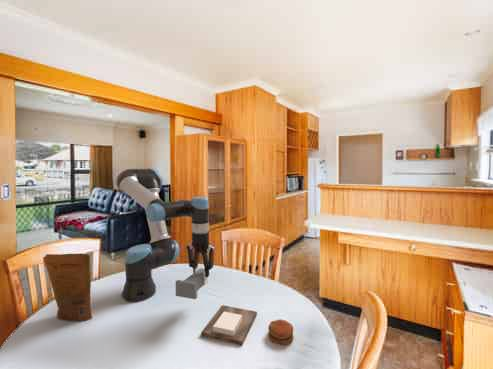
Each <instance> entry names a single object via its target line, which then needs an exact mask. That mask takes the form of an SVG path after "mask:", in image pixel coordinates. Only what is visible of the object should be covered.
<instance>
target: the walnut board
mask: <svg viewBox="0 0 493 369" xmlns="http://www.w3.org/2000/svg"><path fill="white" fill-rule="evenodd" d="M223 312H229V313H234V314H239V315H242V321H241V323H240V325H239V327H238V328H237V330H236V332H235V334H234V336H231V335H227V334H222V333H218V332H213V326H214V324H215V323H216V322H217V320H218V319H219V317H220V316H221V315H222V313H223ZM257 315H258V311H254V310H250V309H245V308H240V307H236V306H235V307H234V306H228V305H224V304H223V305H221V306H220V307H219V309H218V310H217V311H216V313H215V314H214V315H213V316H212V317H211V319H210V320H209V322H208V323H207V324H206V326H205V327H204V328H203V330H202V331H201V333H200V335H201V337H203V338H204V337H205V338H208V339H211V340H212V339H213V340H218V341H222V342H226V343H229V344H233V345H239V346H243V345H244V342H245V341H246V338H247V336H248V335H249V332H250V330H251V329H252V326H253V324H254V322H255V320H256V317H257Z"/></svg>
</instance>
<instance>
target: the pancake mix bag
mask: <svg viewBox="0 0 493 369" xmlns="http://www.w3.org/2000/svg"><path fill="white" fill-rule="evenodd" d="M42 259H43V264H44V266H45V268H46V273H47V275H48V279H49V281H50V285H51V289H52V292H53V296H54V300H55V304H56V307H57V313H56V316H57V318H56V319H57V320H60V321H70V322H79V323H81V322H86V321H89V320H91V319H93V316H92V308H91V299H92V298H91V288H92V286H91V285H92V283H91V255H90V254H88V253H61V254H60V253H59V254H58V253H57V254H54V253H53V254H51V253H50V254H49V253H47V254H45V255H44V256H43V257H42Z"/></svg>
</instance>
